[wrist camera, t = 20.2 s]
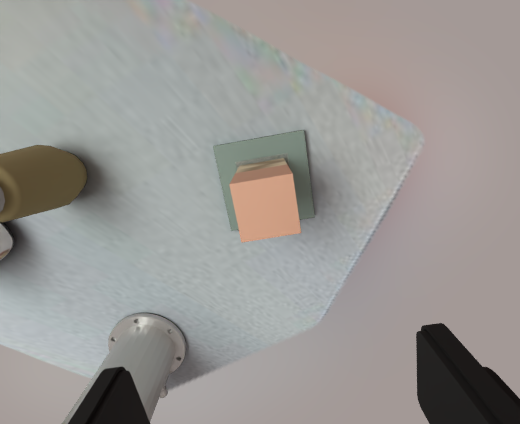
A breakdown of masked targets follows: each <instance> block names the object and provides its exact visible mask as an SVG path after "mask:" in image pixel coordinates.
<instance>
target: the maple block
mask: <svg viewBox="0 0 520 424" xmlns="http://www.w3.org/2000/svg"><path fill="white" fill-rule="evenodd" d="M286 164H287V163H286V161H285V159H284V158H281V159H275V160H269V161H264V162H258V163H252V164H246V165H241V166H239V167H238V169H237V171H236V173H240V172H246V171H252V170H258V169H263V168H269V167H275V166H280V165H286Z"/></svg>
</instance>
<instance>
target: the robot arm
mask: <svg viewBox="0 0 520 424" xmlns="http://www.w3.org/2000/svg"><path fill="white" fill-rule="evenodd" d="M416 335H417V336H416V338H417V340H416V341H417V396H418V401H419V404H420V407H421V409H422V411H423V412H424V414H425V416H426V418H427V420H428V421H429V423H430V424H520V399H519V398H518V397H517V395H515V393H514V392H513V391H512V390H511V389H510V388H509V387H508V386H507V385H506V384H505V383H504V382H503V380H501V378H500V377H499V376H498V375H497V374H496V373H495V372H494V371H492V370H491V369H489V368H488V367H482V366H481V365H480V364H479V362H478V361H477V360H476V359H475V358H474V357H473V356H472V355H471V353H470V352H469V351H468V350H467V349H466V348H465V347H464V346H463V345H462V343H461V342H460V341H459V340H458V339H457V338H456V337H455V336H454V334H452V332H451V331H450V330H449V329H448V328H447V327H446V326H445V325H444V324H442V323H439V324H432V325H424V326H422V328H421V331H418V332H417V334H416ZM108 346H109V351H110V352H109V354H108V355H107V357H106V358H105V360H104V361H103V363H102V364H101V366H100V367H99V369H98V370H97V372H96V373H95V375H94V376H93V378H92V379H91V381H90V382H89V384H88V386H87V387H86V388H85V390H84V391H83V393H82V394H81V396H80V398H79V399H78V401H77V402H76V404H75V405H74V407H73V408H72V410H71V411H70V412H69V414H68V416H67V417H66V419H65V420H64V421H63V423H62V424H150V420H151V417H152V415H153V412H154V410H155V407H156V404H157V402H158V399H159V397H160V398H164V397H165V396H166V395H167V393H168V391H167V389H166V386H165V384H166V381H167V378H168V376H169V374H171V373H173V372H174V371H175V370H177V369H178V367H179V366H180V365H181V363H182V362H183V359H184V356H185V352H186V342H185V339H184V336H183V335H182V333H181V331H180V330H179V329H178V328H177V326H175V325H174V324H173V323H172V322H171V321H169V320H167V319H165V318H163V317H161V316H158V315H154V314H148V313H140V314H134V315H130V316H128V317H126V318H124V319H122V320H121V321H120V322H118V323H117V325H116V326H115V327H114V329H113V330H112V332H111V333H110V336H109V342H108Z"/></svg>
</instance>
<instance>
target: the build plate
mask: <svg viewBox="0 0 520 424" xmlns="http://www.w3.org/2000/svg"><path fill="white" fill-rule="evenodd" d="M213 149H214V154H215V158H216V163H217V167H218V172H219V176H220V181H221V185H222V190H223V195H224V199H225V204H226V208H227V213H228V217H229V222H230V227H231V231H234V230H239V228H238V223H237V218H236V214H235V209H234V204H233V200H232V195H231V190H230V186H229V184H230V182H231V180H232V178H233V176H234V175H235V173H236V171H237V169H238V167H239V166H241V165H246V164H252V163H258V162H264V161H269V160H275V159H281V158H284V159H285V161H286V163H287V165H288V166H289V168H290V170H291V171H292V173H293V180H294V187H295V193H296V200H297V207H298V214H299V220H302V219H308V218H314V217H315V215H314V207H313V199H312V191H311V183H310V175H309V167H308V159H307V151H306V143H305V135H304V130H300V131H294V132H289V133H283V134H278V135H272V136H267V137H261V138H256V139H250V140H244V141H239V142H233V143H228V144H222V145H217V146H213Z"/></svg>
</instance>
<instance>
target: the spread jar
mask: <svg viewBox="0 0 520 424" xmlns="http://www.w3.org/2000/svg"><path fill="white" fill-rule="evenodd" d="M13 246H14V237H13V235H12V233H11V231H10V230H9V228H8V227H7V226H6V225H5V224H4V223H3V222H0V260H1V259H3V258H4V257H5V256H7V255H8V254H9V252H10V251H11V250H12V248H13Z"/></svg>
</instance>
